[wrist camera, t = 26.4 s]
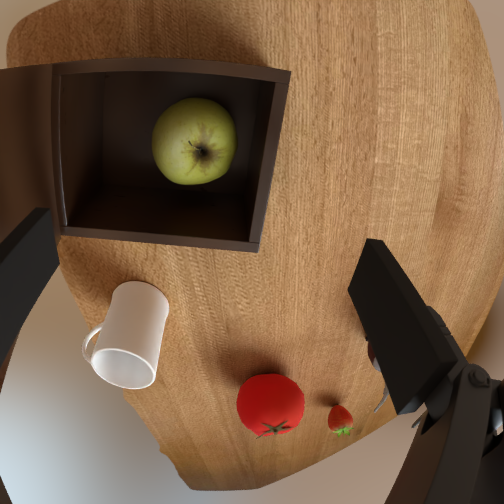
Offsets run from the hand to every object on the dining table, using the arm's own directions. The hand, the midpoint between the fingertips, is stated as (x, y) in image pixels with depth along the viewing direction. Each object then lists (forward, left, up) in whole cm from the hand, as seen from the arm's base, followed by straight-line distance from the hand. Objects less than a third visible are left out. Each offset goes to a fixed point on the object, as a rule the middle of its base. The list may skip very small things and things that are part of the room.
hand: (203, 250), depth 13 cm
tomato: (+41, +12, -24) cm, 49 cm away
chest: (0, -5, -24) cm, 24 cm away
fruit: (+51, +29, -24) cm, 64 cm away
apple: (0, -2, -23) cm, 23 cm away
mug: (+25, -11, -24) cm, 36 cm away
